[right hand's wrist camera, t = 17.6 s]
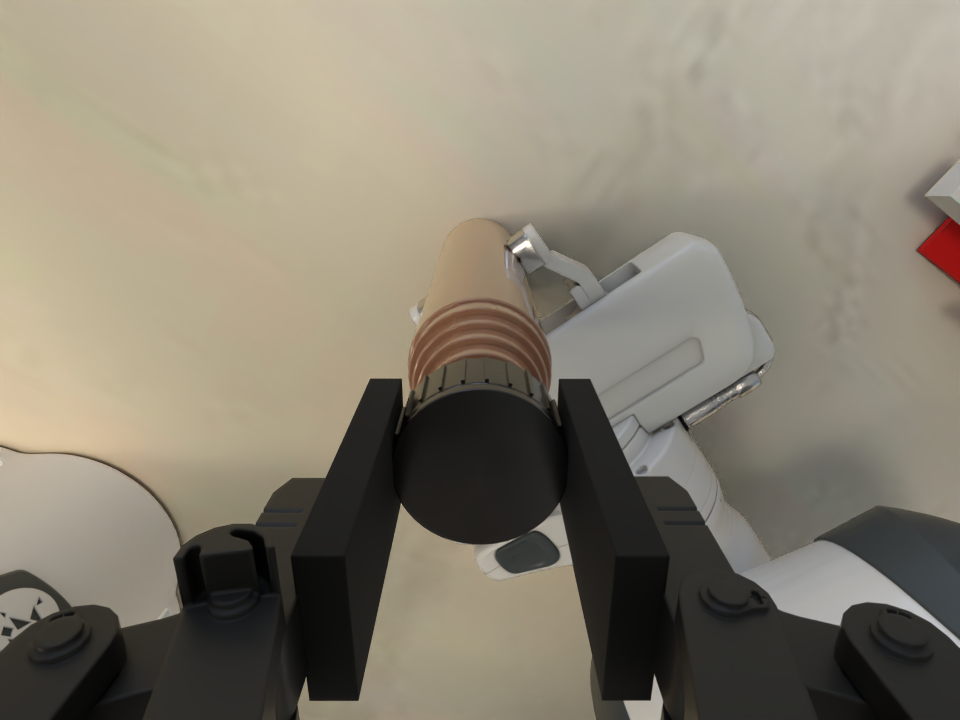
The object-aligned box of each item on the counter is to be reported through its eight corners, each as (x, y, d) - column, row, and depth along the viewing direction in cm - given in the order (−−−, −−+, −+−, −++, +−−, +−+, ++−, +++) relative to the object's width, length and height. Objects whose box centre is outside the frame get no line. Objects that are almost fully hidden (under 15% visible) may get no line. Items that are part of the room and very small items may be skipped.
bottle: (529, 235, 35) (614, 408, 13) (500, 304, 37) (532, 565, 14) (458, 206, 35) (419, 334, 12) (431, 277, 36) (353, 506, 14)
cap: (375, 383, 14) (360, 418, 13) (534, 333, 14) (542, 363, 12) (431, 515, 16) (426, 565, 14) (578, 474, 15) (592, 520, 13)
